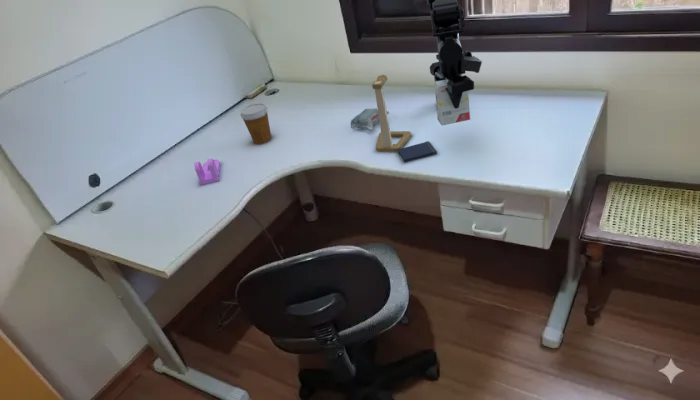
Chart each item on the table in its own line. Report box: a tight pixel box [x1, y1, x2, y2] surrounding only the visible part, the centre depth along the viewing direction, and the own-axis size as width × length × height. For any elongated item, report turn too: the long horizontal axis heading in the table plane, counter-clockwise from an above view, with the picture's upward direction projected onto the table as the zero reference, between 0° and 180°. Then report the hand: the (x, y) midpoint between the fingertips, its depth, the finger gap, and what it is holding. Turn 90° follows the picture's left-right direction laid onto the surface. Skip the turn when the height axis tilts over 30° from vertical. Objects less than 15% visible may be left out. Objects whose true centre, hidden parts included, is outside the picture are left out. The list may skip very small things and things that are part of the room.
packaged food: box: [350, 107, 390, 131], centre depth 174 cm, size 9×12×5 cm
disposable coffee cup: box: [239, 102, 272, 145], centre depth 179 cm, size 10×10×12 cm
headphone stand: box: [371, 74, 412, 153], centre depth 156 cm, size 10×11×22 cm
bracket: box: [193, 158, 221, 186], centre depth 166 cm, size 13×6×7 cm, turn 9°
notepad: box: [397, 140, 438, 163], centre depth 154 cm, size 10×7×1 cm
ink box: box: [434, 80, 471, 126], centre depth 147 cm, size 9×5×12 cm, turn 94°
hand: (453, 104), depth 147 cm, fingers closed on ink box, 5 cm apart
